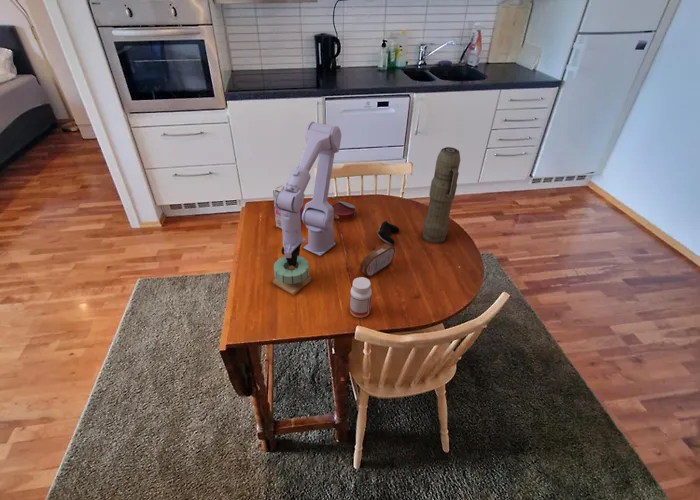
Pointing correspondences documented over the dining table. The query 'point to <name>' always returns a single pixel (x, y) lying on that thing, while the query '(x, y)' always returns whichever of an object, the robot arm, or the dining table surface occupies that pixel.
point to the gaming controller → (387, 232)
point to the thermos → (441, 195)
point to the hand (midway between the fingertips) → (293, 262)
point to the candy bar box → (277, 214)
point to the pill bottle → (360, 297)
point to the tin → (377, 259)
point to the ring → (291, 271)
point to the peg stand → (292, 287)
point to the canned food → (343, 211)
